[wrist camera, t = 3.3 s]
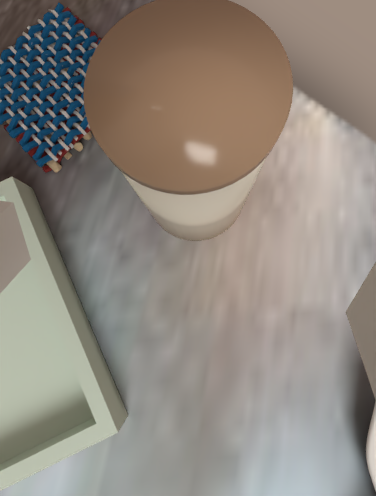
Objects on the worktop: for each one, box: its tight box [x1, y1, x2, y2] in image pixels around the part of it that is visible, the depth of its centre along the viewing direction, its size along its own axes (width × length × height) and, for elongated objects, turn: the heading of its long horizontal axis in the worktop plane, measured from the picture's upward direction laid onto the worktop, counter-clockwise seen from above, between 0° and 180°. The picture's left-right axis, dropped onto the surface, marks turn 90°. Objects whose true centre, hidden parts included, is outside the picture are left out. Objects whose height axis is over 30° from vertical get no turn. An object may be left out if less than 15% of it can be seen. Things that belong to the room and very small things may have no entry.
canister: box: [83, 0, 293, 241], centre depth 17 cm, size 7×7×12 cm
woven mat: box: [0, 3, 102, 173], centre depth 24 cm, size 10×11×2 cm
